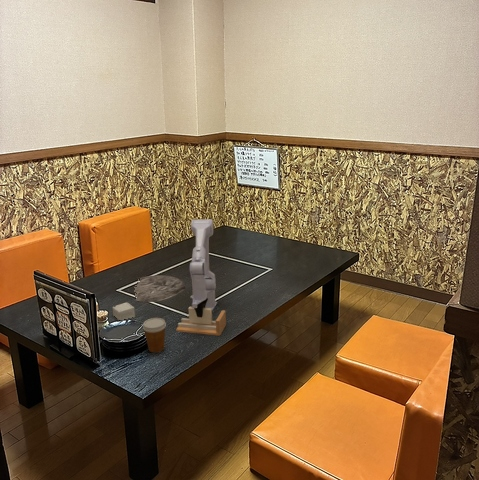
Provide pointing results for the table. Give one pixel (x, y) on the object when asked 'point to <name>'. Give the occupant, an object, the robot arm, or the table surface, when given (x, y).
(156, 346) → the disposable coffee cup
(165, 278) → the grey fur rug
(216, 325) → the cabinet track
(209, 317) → the door panel
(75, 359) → the table surface
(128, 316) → the small box
